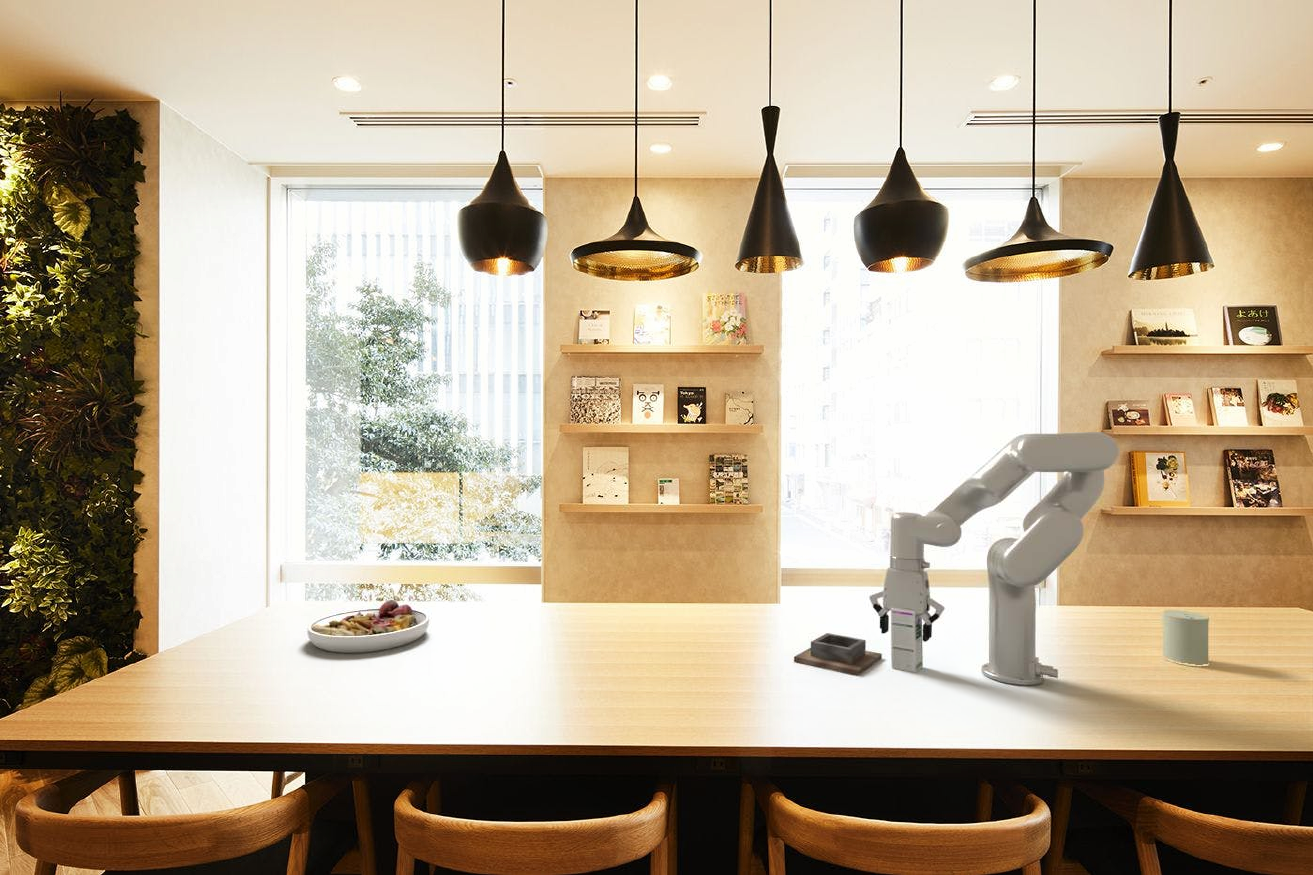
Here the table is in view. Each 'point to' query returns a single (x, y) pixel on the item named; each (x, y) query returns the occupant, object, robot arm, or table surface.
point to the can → (1185, 637)
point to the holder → (839, 654)
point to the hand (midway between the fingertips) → (905, 636)
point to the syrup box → (906, 640)
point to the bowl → (369, 629)
